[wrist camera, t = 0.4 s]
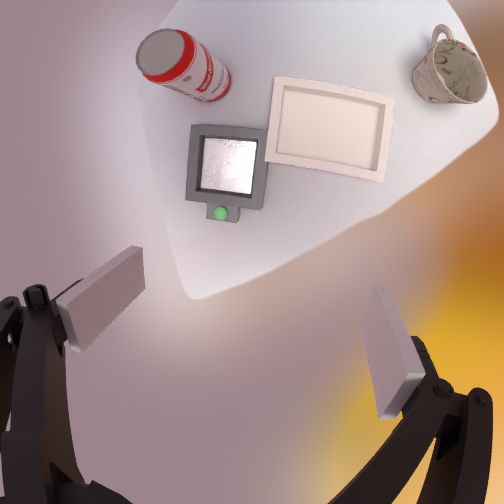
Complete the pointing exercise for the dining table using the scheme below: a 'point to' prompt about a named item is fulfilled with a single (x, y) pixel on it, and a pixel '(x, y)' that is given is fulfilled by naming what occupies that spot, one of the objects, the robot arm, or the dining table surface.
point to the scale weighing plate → (228, 165)
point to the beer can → (182, 65)
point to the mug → (450, 72)
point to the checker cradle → (218, 202)
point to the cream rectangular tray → (329, 128)
